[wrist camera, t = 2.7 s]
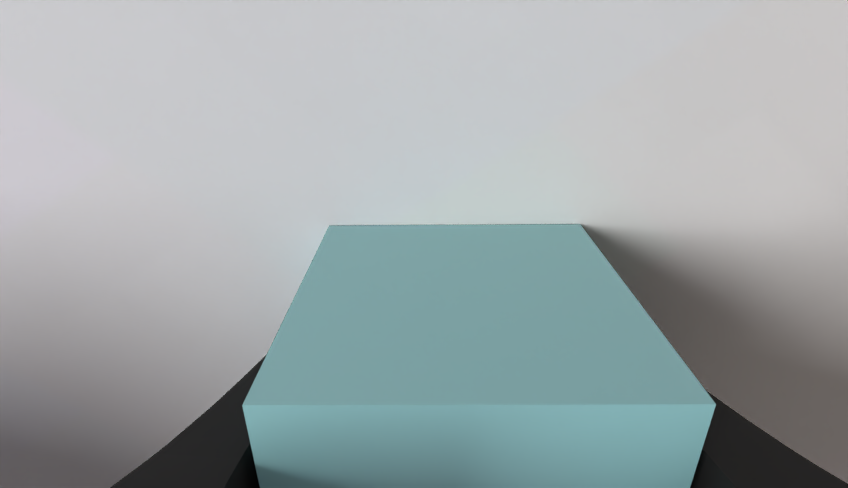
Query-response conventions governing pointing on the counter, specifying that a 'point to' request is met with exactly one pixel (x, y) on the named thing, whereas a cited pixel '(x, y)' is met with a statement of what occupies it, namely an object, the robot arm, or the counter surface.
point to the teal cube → (471, 368)
